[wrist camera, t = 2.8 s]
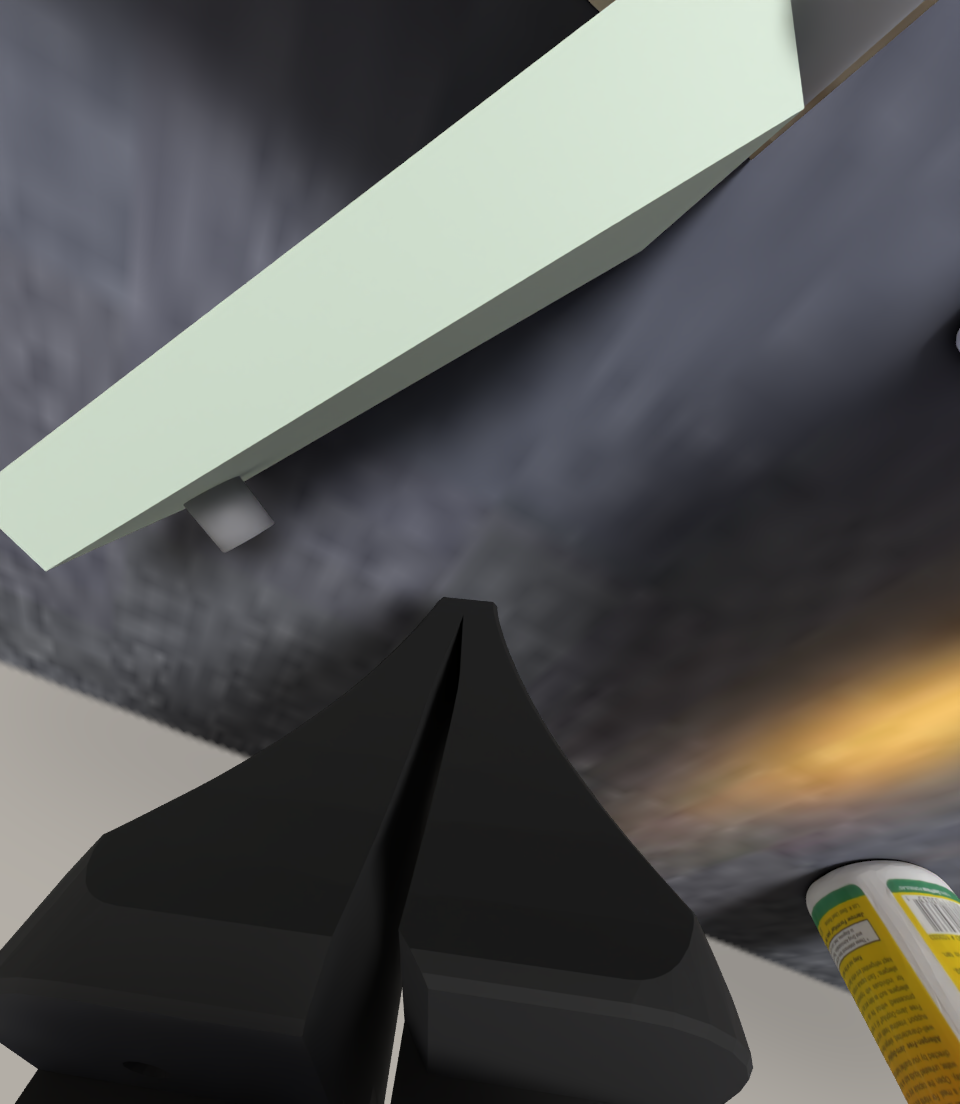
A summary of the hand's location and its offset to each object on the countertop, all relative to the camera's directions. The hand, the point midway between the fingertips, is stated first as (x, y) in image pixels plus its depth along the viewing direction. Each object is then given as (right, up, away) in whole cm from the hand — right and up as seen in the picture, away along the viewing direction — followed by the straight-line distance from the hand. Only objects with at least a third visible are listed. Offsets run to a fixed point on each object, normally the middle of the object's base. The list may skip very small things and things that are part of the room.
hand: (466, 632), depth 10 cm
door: (-1, +6, 0) cm, 6 cm away
